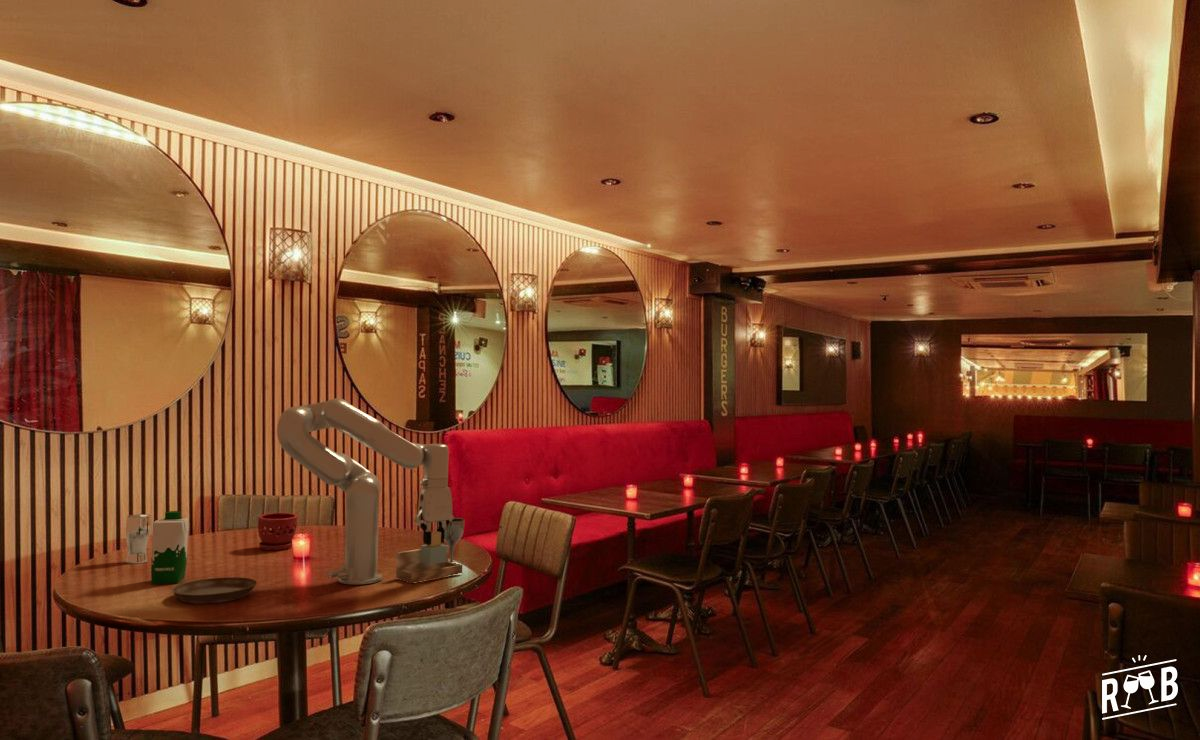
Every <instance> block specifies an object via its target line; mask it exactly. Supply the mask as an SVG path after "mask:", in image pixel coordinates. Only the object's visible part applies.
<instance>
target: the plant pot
mask: <svg viewBox="0 0 1200 740" xmlns="http://www.w3.org/2000/svg"><path fill="white" fill-rule="evenodd" d="M297 526H298V515H297V514H295V513H289V512H272V513H271V512H270V513H264V514H260V515H259V516H258V518H257V530H258V531H257V532H258V535H259V536H258V537H259V539H260V540H261V541H260V542H259V543H258V545H259V547H260V548H261V549H263V550H265V551H282V549H283V550H288V549H291V548H292V541H293V539H294V537H295V534H296V531H297ZM292 538H293V539H292ZM287 548H288V549H287Z"/></svg>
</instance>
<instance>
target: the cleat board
mask: <svg viewBox="0 0 1200 740" xmlns="http://www.w3.org/2000/svg"><path fill="white" fill-rule="evenodd" d="M446 545H447V550H446V562H441V563H435V564H426V563H423V562H420V561H421V548H418V549H412V550H404V551H398V552H396V567H395V568H396V571H395V572H396V573H395V574H396V576H395V579H396V578H399V579H401V580H400V581H402V580H405V581H408V582H411V583H414V582H419V581H424V580H429V579H433V578H439V577H444V576H448V575H453V574H458V573H462V574H463V564H462V565H460V564H456V563H452V562H449V561H450V560H449V556H450V554H449V553H450V548H449V545H448V544H446ZM405 581H404V582H405ZM408 582H407V583H408ZM411 583H410V584H411Z"/></svg>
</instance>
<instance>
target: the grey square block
mask: <svg viewBox="0 0 1200 740" xmlns="http://www.w3.org/2000/svg"><path fill="white" fill-rule="evenodd" d="M430 532H431V545H427V544H421V545H420V549H421V561H420V562H423V563H426V564H435V563H441V562H446V550H447V545H448V544H443V543H441V532H438V531H437V530H436V531H430Z"/></svg>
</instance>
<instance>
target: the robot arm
mask: <svg viewBox="0 0 1200 740" xmlns="http://www.w3.org/2000/svg"><path fill="white" fill-rule="evenodd" d="M331 428H333V429H335V430H337V431H339V432H340V433H343V434H344V435H346V436H348V437H350V438H351V439H353V440H355V441H357V442H359V443H360V444H361V445H364V446H365V447H366V448H368V449H370V450H372V451H374V452H376V453H377V454H379V455H381V456H383V457H384V458H386V459H388V460H390V461H391V462H393V463H395V464H397V465H398V466H400V467H402V468H404V469H407V470H413V469H414V470H415V469H416V468H419V467H421V466H423V473H422V474H423V475H422V476H423V477H422V478H423V479H422V480H421V481H419V485H420V486H422V488H421V489H420V493H419V498H418V505H417V507H418V508H417V515H416V517H415V519H414V521H413V523H414V524H415V525H417V526H418V527H419V528H420V529H421V531H422V533H423V536H422V537H423V538H422V540H423V545H431V532H432V531H431V527H432V522H433V523H434V522H435V523H436V522H437V526H438V527H437V528H436V531H438V532H441V544H443V543H444V542H445V540H444V537H445V529H446V528H447V526H448V524H449V523H450V522H451V521H452V520H453V519H454V518H455V516H454V514H453V497H452V492H451V487H448V485H449V458H450V457H449V453H450V451H449V450H450V449H449V446H448V445H447V444H445V443H429V444H424V443H417V442H410V441H409V440H407V439H405V438H404V437H402V436H400V435H399V434H397V433H395V432H393V430H390V429H389V428H388V427H387V426H386V425H385V424H384V423H383V422H382V421H380V420H378V419H377V418H375V417H374V416H372V415H370V414H367V413H366V412H365V411H363V410H361V409H359V408H358V407H356V406H354V405H352V404H351V403H350V402H348V401H347V400H345V399H343V398H339V397H338V398H337V397H336V398H332V399H329V400H326V401H325V400H324V401H321V402H316V403H311V404H305V405H299V406H291V407H288V408H287V409H284V411H283V412H282V413H281V414H280V416H279V419H278V421H277V426H276V435H277V440H278V443H279V446H281V448H282V449H283V451H284V452H286V453H287V455H289V457H290V458H291V459H293V460H294V461H296V462H297V463H298V464H300V465H302V467H304V468H305V469H307V471H309V472H310V473H312V474H313V475H314V476H316V477H317V478H318V479H320V480H321V481H322V482H323V483H325V484H327V485H330V486H336V487H337V488H338V489H340V490H341V491H343V492H344V493H345V538H344V539H345V540H344V541H345V542H344V565H341V566H340V568H339V569H338V570H329V571H328V578H330V579H332V578H338V582H339V583H341V584H344V585H353V586H356V585H357V586H358V585H371V584H374V583H379V582H380V581H381V580H383V575H382V574H381V573H379V572H378V559H379V558H378V551H379V549H378V548H379V526H380V525H379V521H380V520H379V518H380V515H379V514H380V496H381V495H380V494H381V491H382V484H381V481H380V479H379V478H378V477H377V475H375V474H374V473H373V472H371V471H370V470H368V469H367V468H365V467H364V466H363V465H362V464H360V463H359V462H358V461H356V460H355V459H354V458H352V457H351V456H349V455H347V454H345V453H344V452H337V451H334V450H332V449H330V447H328V446H327V445H325V444H324V443H323V442H321V441H320V440H318V439H317V438H315V437H314V436H312V434H311V432H315V431H321V430H325V429H331Z"/></svg>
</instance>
